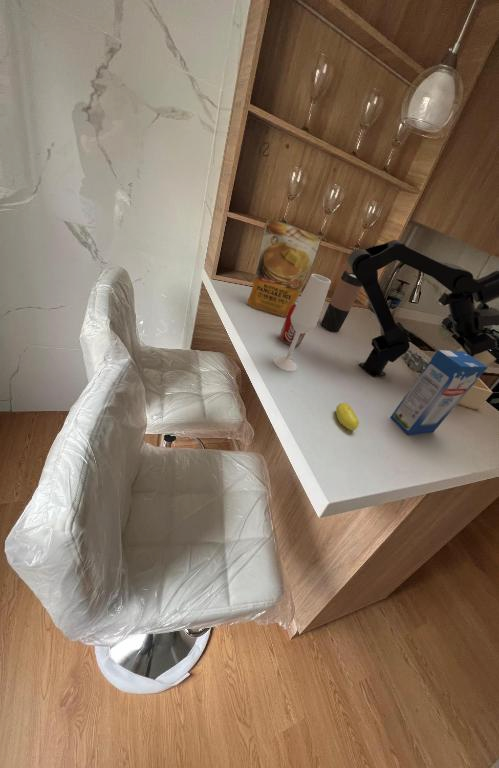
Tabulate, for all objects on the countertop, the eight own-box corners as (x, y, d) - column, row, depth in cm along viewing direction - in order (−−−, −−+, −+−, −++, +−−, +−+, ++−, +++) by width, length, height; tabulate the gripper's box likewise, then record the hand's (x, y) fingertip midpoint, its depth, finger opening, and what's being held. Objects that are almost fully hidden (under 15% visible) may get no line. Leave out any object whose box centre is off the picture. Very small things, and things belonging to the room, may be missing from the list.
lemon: (345, 411, 78) (352, 399, 76) (357, 436, 72) (366, 423, 70) (329, 409, 77) (336, 396, 75) (340, 433, 71) (348, 420, 69)
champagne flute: (301, 367, 89) (340, 283, 76) (287, 373, 85) (325, 284, 71) (283, 355, 92) (317, 271, 79) (268, 359, 88) (302, 272, 74)
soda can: (275, 340, 99) (289, 303, 92) (282, 333, 104) (296, 297, 98) (296, 350, 97) (312, 313, 91) (302, 342, 103) (317, 307, 97)
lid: (463, 382, 95) (461, 381, 95) (445, 361, 105) (443, 360, 105) (496, 359, 90) (494, 357, 90) (474, 339, 100) (472, 338, 100)
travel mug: (335, 335, 117) (362, 281, 106) (316, 325, 119) (340, 271, 108) (342, 330, 122) (367, 278, 112) (324, 321, 125) (347, 269, 114)
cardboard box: (447, 401, 99) (462, 383, 95) (431, 379, 109) (444, 362, 105) (476, 410, 100) (492, 392, 96) (458, 387, 110) (472, 371, 106)
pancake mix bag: (243, 298, 119) (267, 216, 104) (292, 314, 121) (323, 235, 106) (241, 305, 113) (266, 219, 98) (293, 321, 115) (326, 239, 100)
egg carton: (429, 376, 112) (436, 366, 109) (408, 370, 111) (415, 360, 109) (418, 361, 120) (424, 351, 118) (399, 355, 120) (405, 345, 118)
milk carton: (407, 435, 78) (461, 366, 67) (389, 417, 82) (437, 349, 71) (433, 432, 82) (488, 367, 71) (415, 415, 87) (464, 351, 76)
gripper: (517, 310, 79) (522, 360, 87) (476, 286, 95) (484, 330, 102) (467, 330, 83) (476, 376, 90) (436, 303, 98) (446, 345, 105)
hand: (471, 355), depth 97 cm, fingers closed, pressing on lid
